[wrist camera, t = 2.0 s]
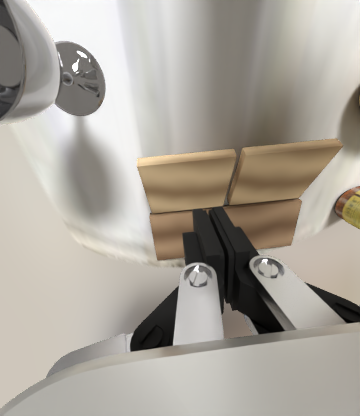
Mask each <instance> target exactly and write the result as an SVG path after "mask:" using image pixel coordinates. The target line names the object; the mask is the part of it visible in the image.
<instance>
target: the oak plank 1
mask: <svg viewBox="0 0 360 416" xmlns="http://www.w3.org/2000/svg"><path fill="white" fill-rule="evenodd" d="M236 158H237V155H236V153H235V150H234V149H225V150H215V151H205V152H195V153H185V154H175V155H165V156H155V157H146V158H137V168H138V171H139V174H140V177H141V180H142V183H143V187H144V190H145V193H146V196H147V199H148V202H149V205H150V208H151V211H152V214H153V213H163V212H172V211H182V210H191V209H199V208H210V207H218V206H223V204H224V200H225V197H226V193H227V190H228V186H229V183H230V179H231V176H232V172H233V169H234V165H235V162H236Z"/></svg>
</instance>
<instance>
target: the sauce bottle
mask: <svg viewBox="0 0 360 416" xmlns="http://www.w3.org/2000/svg"><path fill="white" fill-rule="evenodd" d="M335 211H336V213H337V215H338V216H339V217H340V218H342V219H344V220H345V221H346V222H348V223H350V224H351V225H353V226H355V227H357V228H358V229H360V186H358V187H355V188H352V189H350V190H348V191H346V192H345V193H344V194H342V195H341V196H340V198H339V199H338V201H337V202H336V206H335Z"/></svg>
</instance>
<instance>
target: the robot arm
mask: <svg viewBox="0 0 360 416" xmlns="http://www.w3.org/2000/svg"><path fill="white" fill-rule="evenodd" d="M192 214H193V230H194V231H193V232H184V233H182V237H183V248H184V256H185V264H186V267H184V268H183V270H182V271H181V274H180V282H179V286H178V287H177V288H176V289H175V290H174V291H173V292H172V293H171V294H170V295H169V296H168V297H167V298H166V299H165V300H164V301H163V302H162V303H161V304H160V305H159V306H158V307H157V308H156V309H155V310H154V311H153V312H152V313H151V314H150V315H149V316H148V317H147V318H146V319H145V320H144V321H143V322H142V323H141V324H140V325H139V326H138V328H137V329H136V330H135V331H134V333H131V334H128V335H125V333H122V334H120V335H117V336H114V337H111V338H109V339H106V340H103V341H100V342H98V343H95V344H92V345H90V346H87V347H84V348H81V349H78V350H76V351H73V352H70V353H69V354H67V355H65V356H63V357H62V358H60V359H59V360H58V361H57V362H56V363H55V364H54V366H53V367H52V368H51V369H50V371H49V372H48V374H47V377H46V378H45V379H43V380H41V381H40V382H38V383H36V384H35V385H33V386H31V387H29V388H28V389H26V390H25V391H23V392H22V393H20V394H19V395H17V396H16V397H15V398H14V399H12V400H11V401H9V402H8V403H7V404H5V406H3V407H2V408H1V409H0V416H360V306H358V305H356V304H354V303H352V302H351V301H348V300H346V299H344V298H341V297H339V296H337V295H334V294H332V293H329V292H327V291H324V290H322V289H320V288H317V287H315V286H312V285H310V284H308V283H305V282H303V281H302V280H301V279H300V278H299V277H298V276H297V275H296V274H295V273H294V272H293V271H292V270H291V269H290V268H289V267H288V266H287V265H286V264H285V263H283V262H282V261H281V260H279V259H277V258H275V257H272V256H267V255H259V254H258V252H257V251H256V249H255V248H254V246H253V245H252V243H251V242H250V240H249V239H248V237H247V236H246V234H245V233H244V231H243V230H242V228H241V227H239V226H238V227H235V226H234V225H233V223H232V221H231V220H230V218H229V217H228V215H227V213H226V212H225V210H224V209H223V207H222V206H218V207H212V209H211V210H208V214H207V211H206V210H203V209H202V208H199V209H192ZM224 299H225V301H226V303H230V305H231V308H232V310H238V311H239V312H241V313H243V314H244V318H245V321H246V323H247V325H248V326H249V328H250V330H251V332H252V334H253V336H244V337H237V338H229V339H224V332H223V324H222V317H221V315H222V314H223V309H224Z"/></svg>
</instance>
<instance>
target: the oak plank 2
mask: <svg viewBox="0 0 360 416" xmlns="http://www.w3.org/2000/svg"><path fill="white" fill-rule="evenodd" d="M342 147H343V145H342V143H341V142H340V141H339V140H338V139H337V138H335V139H325V140H315V141H305V142H295V143H285V144H275V145H265V146H255V147H245V148H242V151H241V155H240V158H239V161H238V165H237V168H236V171H235V175H234V178H233V181H232V185H231V188H230V191H229V195H228V198H227V199H228V203H229V205H238V204H247V203H257V202H266V201H275V200H285V199H294V198H299V197H300V196H301V195H302V194H303V192H304V191H305V190H306V189H307V188H308V187H309V185H310V184H311V183H312V182H313V181H314V180H315V178H316V177H317V176H318V175H319V174H320V173H321V171H322V170H323V169H324V168H325V167H326V166H327V164H328V163H329V162H330V161H331V160H332V159H333V157H334V156H335V155H336V154H337V153H338V152H339V150H340V149H341V148H342Z"/></svg>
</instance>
